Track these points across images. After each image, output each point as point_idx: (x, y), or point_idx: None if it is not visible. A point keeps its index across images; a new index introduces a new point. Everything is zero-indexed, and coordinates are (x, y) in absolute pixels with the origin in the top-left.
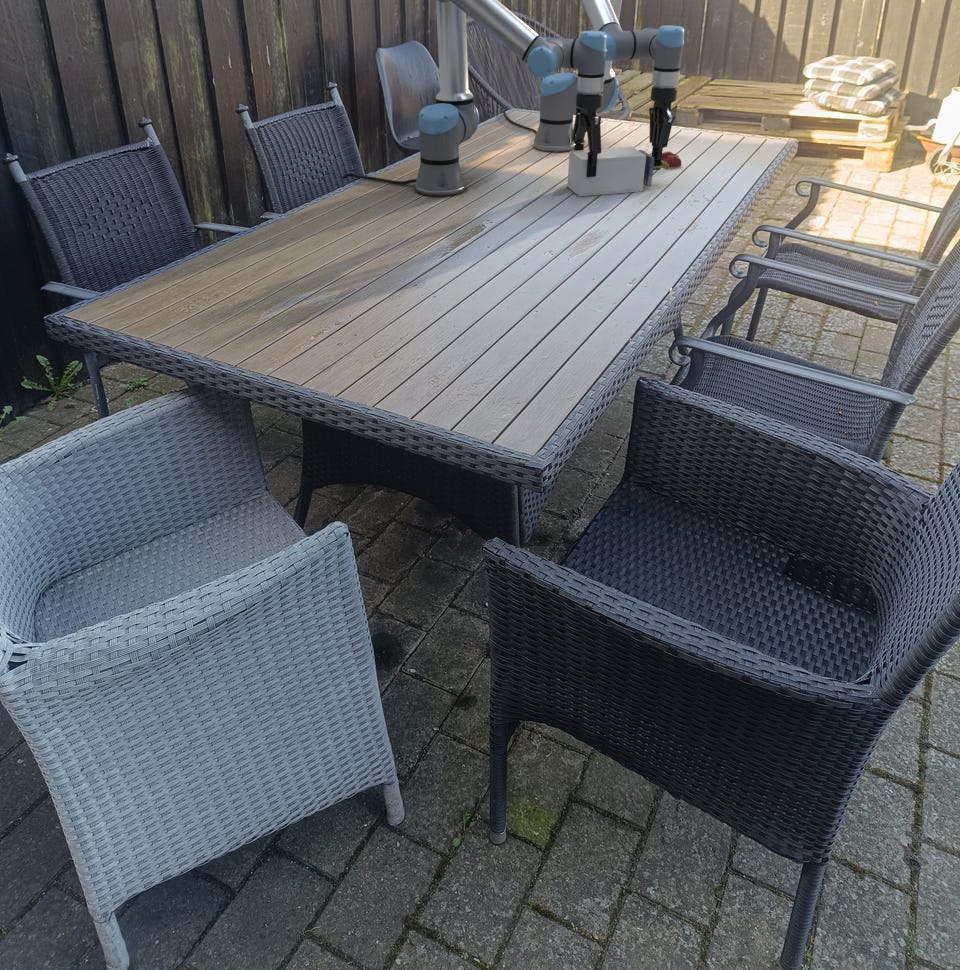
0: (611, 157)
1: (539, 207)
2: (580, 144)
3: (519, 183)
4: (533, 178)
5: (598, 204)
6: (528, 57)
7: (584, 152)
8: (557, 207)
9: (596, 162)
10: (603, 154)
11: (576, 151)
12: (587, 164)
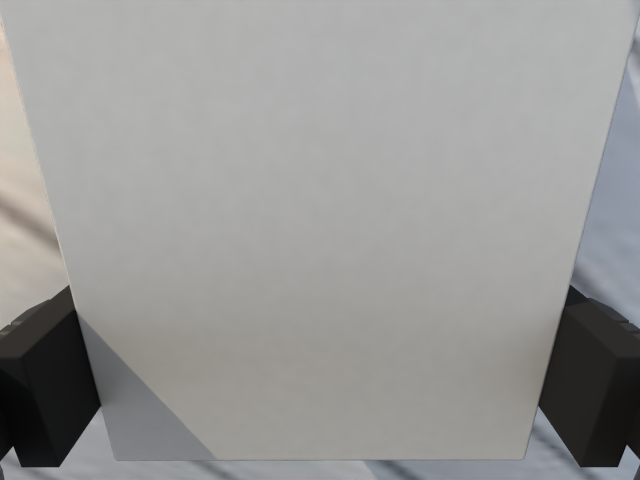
0: (608, 49)
1: (499, 477)
2: (22, 402)
3: (119, 461)
4: None
5: (598, 220)
6: None
7: (212, 340)
8: (536, 417)
9: (573, 294)
10: (382, 115)
11: (150, 408)
12: None
